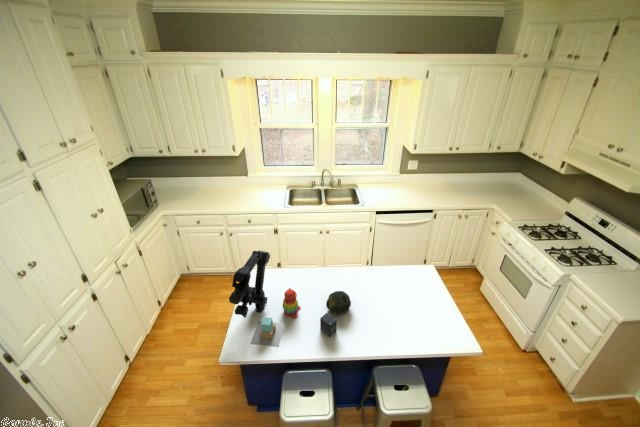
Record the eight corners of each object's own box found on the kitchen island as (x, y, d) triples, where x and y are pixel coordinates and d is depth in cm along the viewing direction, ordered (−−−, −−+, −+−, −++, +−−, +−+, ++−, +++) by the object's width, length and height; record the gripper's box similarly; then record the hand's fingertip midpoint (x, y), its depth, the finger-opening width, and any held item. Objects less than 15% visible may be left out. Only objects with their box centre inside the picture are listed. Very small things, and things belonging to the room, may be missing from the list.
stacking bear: (297, 320, 178) (295, 299, 169) (280, 317, 179) (279, 296, 171) (301, 307, 187) (300, 286, 178) (286, 304, 189) (284, 283, 180)
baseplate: (258, 321, 177) (258, 320, 176) (285, 324, 175) (284, 323, 175) (250, 345, 163) (250, 343, 162) (278, 348, 161) (278, 346, 161)
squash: (320, 296, 187) (329, 293, 174) (340, 289, 194) (350, 286, 181) (328, 319, 184) (337, 317, 171) (348, 311, 190) (358, 309, 177)
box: (336, 332, 170) (337, 319, 165) (330, 338, 167) (330, 325, 162) (326, 324, 175) (326, 312, 170) (320, 330, 171) (320, 317, 166)
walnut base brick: (263, 327, 172) (263, 322, 170) (275, 328, 171) (275, 324, 169) (260, 337, 166) (259, 333, 164) (272, 339, 165) (272, 334, 163)
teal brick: (264, 324, 169) (263, 317, 166) (273, 325, 169) (272, 317, 166) (262, 331, 165) (261, 324, 162) (270, 332, 164) (269, 325, 161)
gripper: (236, 277, 169) (239, 297, 176) (223, 302, 152) (227, 322, 160) (255, 279, 168) (257, 299, 175) (243, 303, 151) (247, 324, 159)
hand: (247, 311), depth 167 cm, fingers open, 9 cm apart
